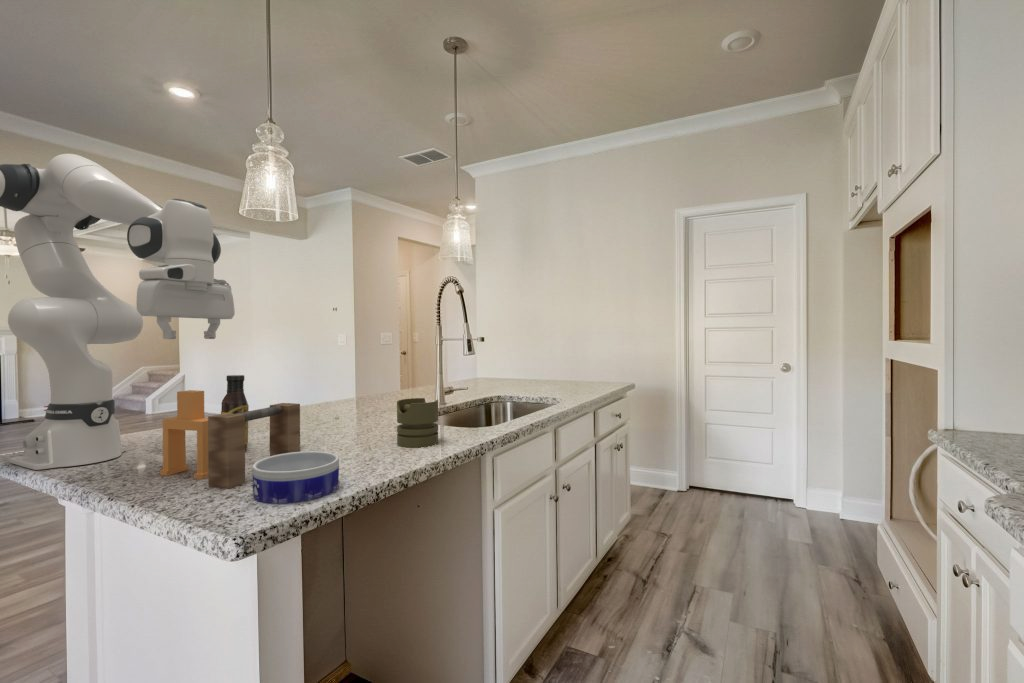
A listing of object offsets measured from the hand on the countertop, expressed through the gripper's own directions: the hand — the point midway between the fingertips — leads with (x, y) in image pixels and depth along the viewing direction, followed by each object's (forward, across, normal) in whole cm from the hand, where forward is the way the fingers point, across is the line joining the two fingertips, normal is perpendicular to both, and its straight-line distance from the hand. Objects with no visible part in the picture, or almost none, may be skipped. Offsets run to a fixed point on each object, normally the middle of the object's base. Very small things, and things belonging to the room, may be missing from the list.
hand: (190, 339), depth 102 cm
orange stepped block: (+29, 0, 0) cm, 29 cm away
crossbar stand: (+29, -4, +14) cm, 33 cm away
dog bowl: (+30, +3, +30) cm, 42 cm away
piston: (+30, -40, +34) cm, 60 cm away
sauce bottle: (+30, -19, -8) cm, 36 cm away
